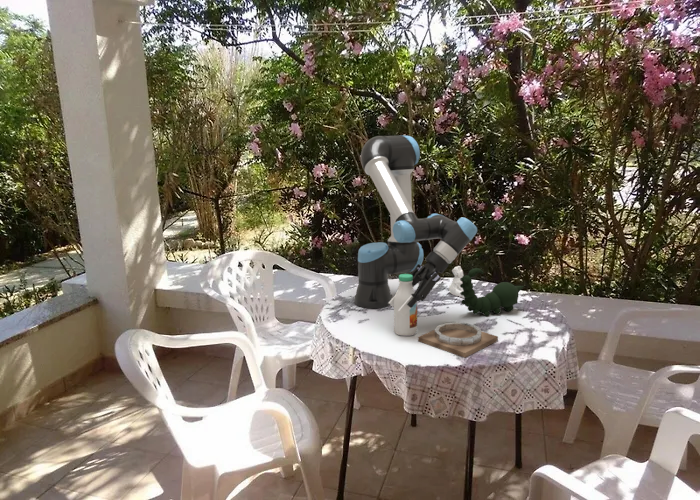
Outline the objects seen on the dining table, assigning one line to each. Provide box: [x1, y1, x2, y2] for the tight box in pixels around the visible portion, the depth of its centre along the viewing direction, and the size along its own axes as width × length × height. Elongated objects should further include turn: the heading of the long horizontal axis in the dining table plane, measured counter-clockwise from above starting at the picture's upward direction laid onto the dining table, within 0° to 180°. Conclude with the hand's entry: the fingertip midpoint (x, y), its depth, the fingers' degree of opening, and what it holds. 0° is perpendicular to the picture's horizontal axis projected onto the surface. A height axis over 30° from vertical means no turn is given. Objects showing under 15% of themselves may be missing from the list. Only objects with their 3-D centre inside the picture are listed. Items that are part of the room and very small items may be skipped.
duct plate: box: [417, 329, 499, 358], centre depth 168 cm, size 18×18×2 cm
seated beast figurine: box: [448, 265, 465, 299], centre depth 215 cm, size 10×9×12 cm
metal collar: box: [434, 322, 483, 346], centre depth 168 cm, size 14×14×2 cm
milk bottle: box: [393, 273, 418, 337], centre depth 174 cm, size 8×8×20 cm
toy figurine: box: [460, 267, 524, 317], centre depth 192 cm, size 9×19×25 cm
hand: (396, 309), depth 174 cm, fingers closed on milk bottle, 8 cm apart
